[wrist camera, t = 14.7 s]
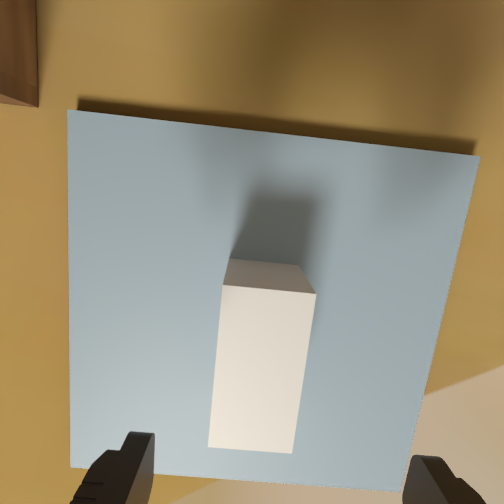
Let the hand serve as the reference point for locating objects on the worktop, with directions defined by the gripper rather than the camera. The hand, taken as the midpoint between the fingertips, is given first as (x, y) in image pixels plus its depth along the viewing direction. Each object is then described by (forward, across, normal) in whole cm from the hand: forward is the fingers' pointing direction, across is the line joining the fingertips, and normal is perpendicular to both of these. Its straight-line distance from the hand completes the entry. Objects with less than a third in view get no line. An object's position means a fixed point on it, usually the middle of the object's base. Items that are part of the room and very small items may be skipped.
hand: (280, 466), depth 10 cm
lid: (+11, +1, 0) cm, 11 cm away
